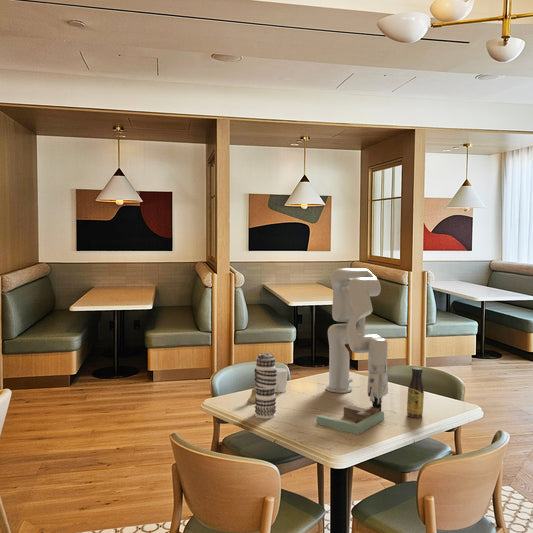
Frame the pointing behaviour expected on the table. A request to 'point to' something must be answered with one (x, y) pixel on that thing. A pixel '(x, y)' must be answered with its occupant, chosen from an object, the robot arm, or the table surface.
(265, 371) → the patterned stacked cylinder
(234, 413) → the table surface
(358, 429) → the corner fence
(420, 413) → the sauce bottle
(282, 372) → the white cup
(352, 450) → the table surface
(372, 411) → the t block
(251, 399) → the hand bell
